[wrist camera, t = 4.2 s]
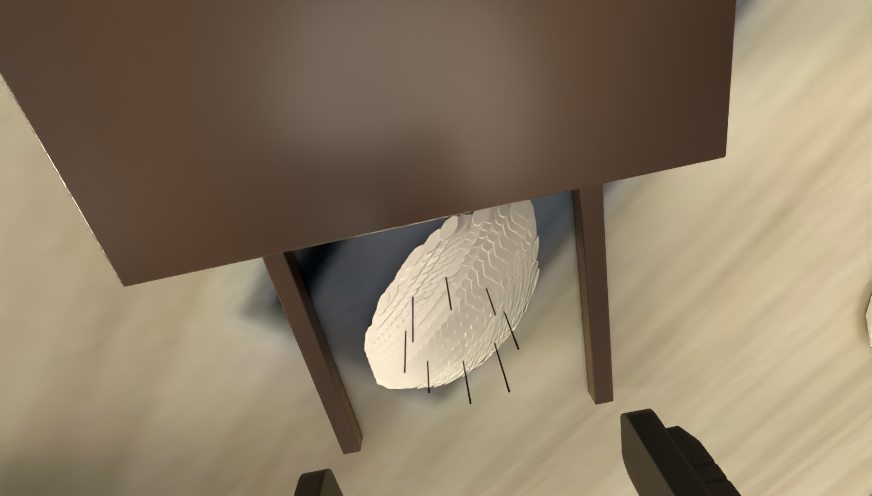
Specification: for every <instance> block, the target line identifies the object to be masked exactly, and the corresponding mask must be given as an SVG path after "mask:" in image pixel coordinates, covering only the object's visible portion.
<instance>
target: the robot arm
mask: <svg viewBox="0 0 872 496" xmlns="http://www.w3.org/2000/svg"><path fill="white" fill-rule="evenodd" d="M620 420H621V442H622V456H623V460H624V464H625V467H626V470H627V472H628V475H629V477H630V479H631V481H632V483H633V485H634V487H635V489H636V491H637V492H638V494H639V496H741V495H740V494H739V492H738V491H737V490H736V488H735V487H734V486H733V484H732V483H731V482H730V481H728V480H727V478H726V475H725V474H724V473H723V471H722V470H721V469H720V467H719V466H718V465H717V464H715V462H714V460H713V458H712V457H711V456H710V454H709V453H708V452H707V450H706V449H705V448H704V446H703V445H702V444H701V443H700V441H699V440H697V439H696V438H695V437H693V436H692V435H690V434H689V433H688V432H686V431H685V430H684V429H682V428H681V427H679V426H675V427H670V428H665V427H664V425H663V424H662V422H661V421H660V419H659V418H658V416H657V415H656V414H655V412H654V411H653V410H651V409H644V410H638V411H633V412H628V413H623V414H621V417H620ZM294 496H343V494H342V492H341V490H340V488H339V485H338V483H337V481H336V479H335V476H334V474H333V472H332V470H331V469H324V470H319V471H314V472H309V473H304V474H302V475H301V476H300V478H299V480H298V484H297V487H296V491H295V494H294Z"/></svg>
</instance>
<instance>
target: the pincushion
mask: <svg viewBox="0 0 872 496" xmlns="http://www.w3.org/2000/svg"><path fill="white" fill-rule="evenodd" d="M538 249H539V237H538V236H537V230H536V219H535V215H534V208H533V205H532V203H531V201H530V200H524V201H520V202H515V203H510V204H506V205H501V206H496V207H492V208H487V209H482V210H478V211H474V213H473V215H471V214H468V215H465V214H461V215H460V216H458V217H457V216H452V217H451V218H449V219H448V220H446V221H445V222H444V224H443V226H442V227H441V229H437V230H436V231H435V232H433V233H432V234H431V235H430V236H429V238H428V239H427V241H426V242H425V244H424V245H421V246H419V247H417V248H415V249H414V250H413V252H412V253H411V254H410V255H409V256H408V258H407V260H406V261H405V262H404V264H403V265H402V266H401V269H400V270H399V271H398V272H397V275H396V277H395V280H394V281H393V282H392V283H391V284H390V285H389V287H387V289H386V291H385V293H384V294H382V295H381V297H380V299H379V302H378V304H377V310H376V312H375V314H374V316H373V319H372V325H371V326H370V327H368V330H367V332H366V334H365V348H364V351H365V352H366V357H367V358H368V361H369V364H370V365H371V370H372V371H373V374H374V377H375V378H376V381H377V384H379V385H383V386H384V387H386V388H388V389H404V388H414V387H417V386H418V387H417V389H420V388H423V387H426V386H427V387H426V388H428V393H430V387H431V386H434V385H435V386H434V388H435V387H437V386H439V385H442V384H443V383H445V385H446V384H448V383H450V382H452V381H453V380H455V379H457V378H458V377H460V376H461V375H463V374H464V373H465V374H464V375H463V376H465V379H466V384H467V390H468V396H469V402H470V404H471V398H470V393H469V387H468V381H467V376H466V374H467V373H469V372H470V371H471V370H472V369H474V368H475V367H476V368H478V367H479V366H480V365H482V364H483V363H484V362H485V361H486V360H487V359H488V358H489V357H490V356H491V355H492V354H493V353H494V352H495V351H496V352H497V355H498V359H499V362H500V365H501V369H502V372H503V375H504V379H505V382H506V385H507V389H508V392H510V389H509V386H508V383H507V380H506V376H505V373H504V370H503V367H502V363H501V360H500V357H499V354H498V350H497V349H498V348H499V347H500V346H501V345H502V343H503V342H504V341H505V339H507V338H508V336H509V335H510V333H512V336H513V338H514V341H515V344H516V346H517V349H518V350H519V347H518V344H517V342H516V339H515V336H514V334H513V331H512V330H514V329H515V328H516V326H517V325H518V323H519V321H520V320H521V318H522V316H523V314H524V313H525V312H526V309H527V307H528V304H529V301H530V298H531V295H532V294H533V292H534V289H535V286H536V283H537V279H538V274H539V268H538V269H537V267H538V261H536V258H537V254H538ZM525 305H526V306H525ZM470 368H471V369H470ZM463 376H462V377H463Z"/></svg>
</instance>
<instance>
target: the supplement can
mask: <svg viewBox="0 0 872 496" xmlns="http://www.w3.org/2000/svg"><path fill="white" fill-rule="evenodd" d="M866 320H867V327H868V332H869V339H870V346H871V347H872V296H871V299H870V303H869V306H868V309H867V313H866Z"/></svg>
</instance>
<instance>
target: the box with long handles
mask: <svg viewBox="0 0 872 496" xmlns="http://www.w3.org/2000/svg"><path fill="white" fill-rule="evenodd" d="M735 10H736V0H0V74H1V76H2V78H3V80H4V81H5V83H6V85H7V87H8V88H9V90H10V92H11V93H12V95H13V97H14V99H15V100H16V102H17V104H18V106H19V107H20V109H21V111H22V112H23V114H24V116H25V118H26V119H27V121H28V123H29V125H30V126H31V128H32V130H33V132H34V133H35V135H36V137H37V138H38V140H39V142H40V144H41V145H42V147H43V149H44V151H45V152H46V154H47V156H48V157H49V159H50V161H51V163H52V164H53V166H54V168H55V170H56V171H57V173H58V175H59V176H60V178H61V180H62V182H63V183H64V185H65V187H66V189H67V190H68V192H69V194H70V196H71V197H72V199H73V201H74V202H75V204H76V206H77V208H78V209H79V211H80V213H81V215H82V216H83V218H84V220H85V221H86V223H87V225H88V227H89V228H90V230H91V232H92V234H93V235H94V237H95V239H96V241H97V242H98V244H99V246H100V247H101V249H102V251H103V253H104V254H105V256H106V258H107V260H108V261H109V263H110V265H111V266H112V268H113V270H114V272H115V273H116V275H117V277H118V279H119V280H120V282H121V284H122V285H123V286H124V287H125V286H130V285H135V284H139V283H144V282H149V281H153V280H158V279H163V278H167V277H172V276H177V275H181V274H186V273H190V272H195V271H200V270H204V269H209V268H214V267H218V266H223V265H228V264H232V263H237V262H241V261H246V260H251V259H255V258H260V257H262V258H263V261H264V263H265V265H266V268H267V270H268V273H269V275H270V278H271V280H272V282H273V285H274V287H275V290H276V292H277V294H278V297H279V299H280V302H281V304H282V307H283V309H284V311H285V314H286V316H287V319H288V321H289V323H290V326H291V328H292V331H293V333H294V336H295V338H296V340H297V343H298V345H299V348H300V350H301V352H302V355H303V357H304V360H305V362H306V365H307V367H308V369H309V372H310V374H311V377H312V379H313V381H314V384H315V386H316V389H317V391H318V394H319V396H320V398H321V401H322V403H323V406H324V408H325V410H326V413H327V415H328V418H329V420H330V423H331V425H332V427H333V430H334V432H335V435H336V437H337V439H338V442H339V444H340V447H341V449H342V452H343V454H349V453H354V452H359V451H361V444H362V435H361V432H360V429H359V427H358V424H357V421H356V419H355V416H354V414H353V411H352V408H351V406H350V403H349V400H348V398H347V395H346V393H345V390H344V387H343V385H342V382H341V379H340V377H339V374H338V371H337V369H336V366H335V364H334V361H333V358H332V356H331V353H330V350H329V348H328V345H327V343H326V340H325V337H324V335H323V332H322V329H321V327H320V324H319V321H318V319H317V316H316V314H315V311H314V308H313V306H312V303H311V300H310V298H309V295H308V293H307V290H306V287H305V285H304V282H303V279H302V277H301V274H300V272H299V269H298V266H297V264H296V261H295V258H294V256H293V253H292V250H297V249H302V248H306V247H311V246H316V245H320V244H325V243H329V242H334V241H339V240H343V239H348V238H353V237H357V236H362V235H367V234H371V233H376V232H380V231H385V230H390V229H394V228H399V227H404V226H408V225H413V224H418V223H422V222H427V221H431V220H436V219H441V218H445V217H450V216H455V215H459V214H464V213H469V212H473V211H478V210H482V209H487V208H492V207H496V206H501V205H506V204H510V203H515V202H520V201H524V200H529V199H533V198H538V197H543V196H547V195H552V194H557V193H561V192H566V191H570V190H573V202H574V214H575V227H576V239H577V251H578V264H579V276H580V288H581V301H582V313H583V325H584V338H585V350H586V362H587V375H588V387H589V393H590V395H591V397H592V399H593V401H594V402H595V404H602V403H607V402H612V401H613V383H612V364H611V344H610V325H609V306H608V286H607V267H606V247H605V228H604V209H603V189H602V184H603V183H608V182H612V181H617V180H621V179H626V178H631V177H635V176H640V175H645V174H649V173H654V172H659V171H663V170H668V169H672V168H677V167H682V166H686V165H691V164H696V163H700V162H705V161H710V160H714V159H719V158H723V157H725V156H726V144H727V129H728V114H729V99H730V85H731V70H732V55H733V40H734V25H735Z"/></svg>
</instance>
